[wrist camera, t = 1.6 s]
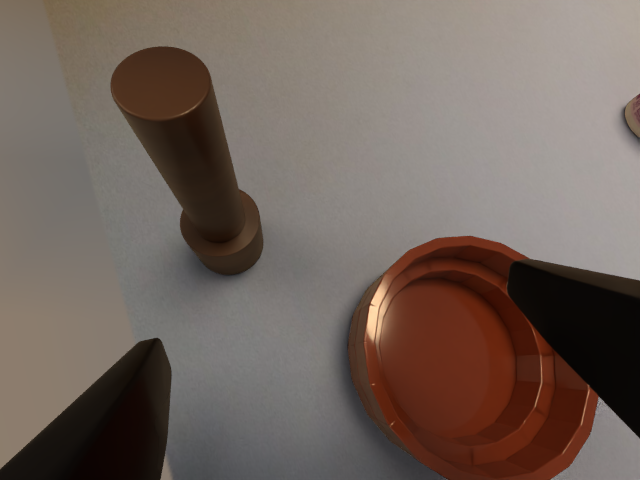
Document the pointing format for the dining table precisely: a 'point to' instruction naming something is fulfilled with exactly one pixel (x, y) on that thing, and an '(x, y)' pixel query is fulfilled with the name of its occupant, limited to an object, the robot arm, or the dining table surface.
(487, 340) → the bowl
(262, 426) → the dining table surface
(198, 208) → the pestle
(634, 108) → the pill bottle
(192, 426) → the dining table surface
